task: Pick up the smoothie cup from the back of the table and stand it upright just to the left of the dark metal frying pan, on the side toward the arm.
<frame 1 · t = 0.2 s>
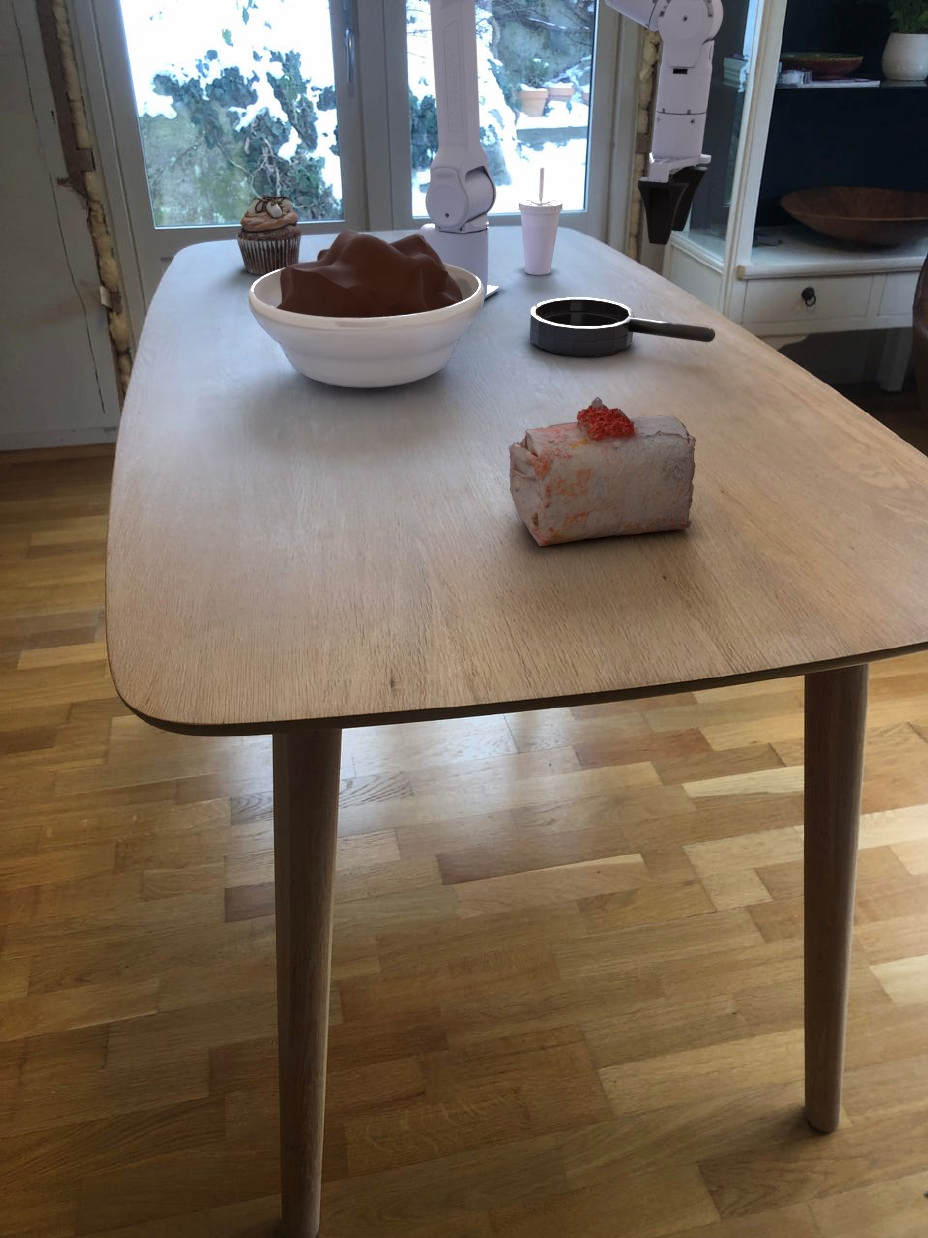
hand: (666, 236, 117), 10 cm above the table, tool pointing down, fingers open, 7 cm apart
smoothie: (537, 272, 142), on the table
cupcake: (272, 269, 144), on the table
bowl of chocolate mousse: (371, 373, 106), on the table
food item: (596, 526, 77), on the table
pan: (580, 341, 115), on the table
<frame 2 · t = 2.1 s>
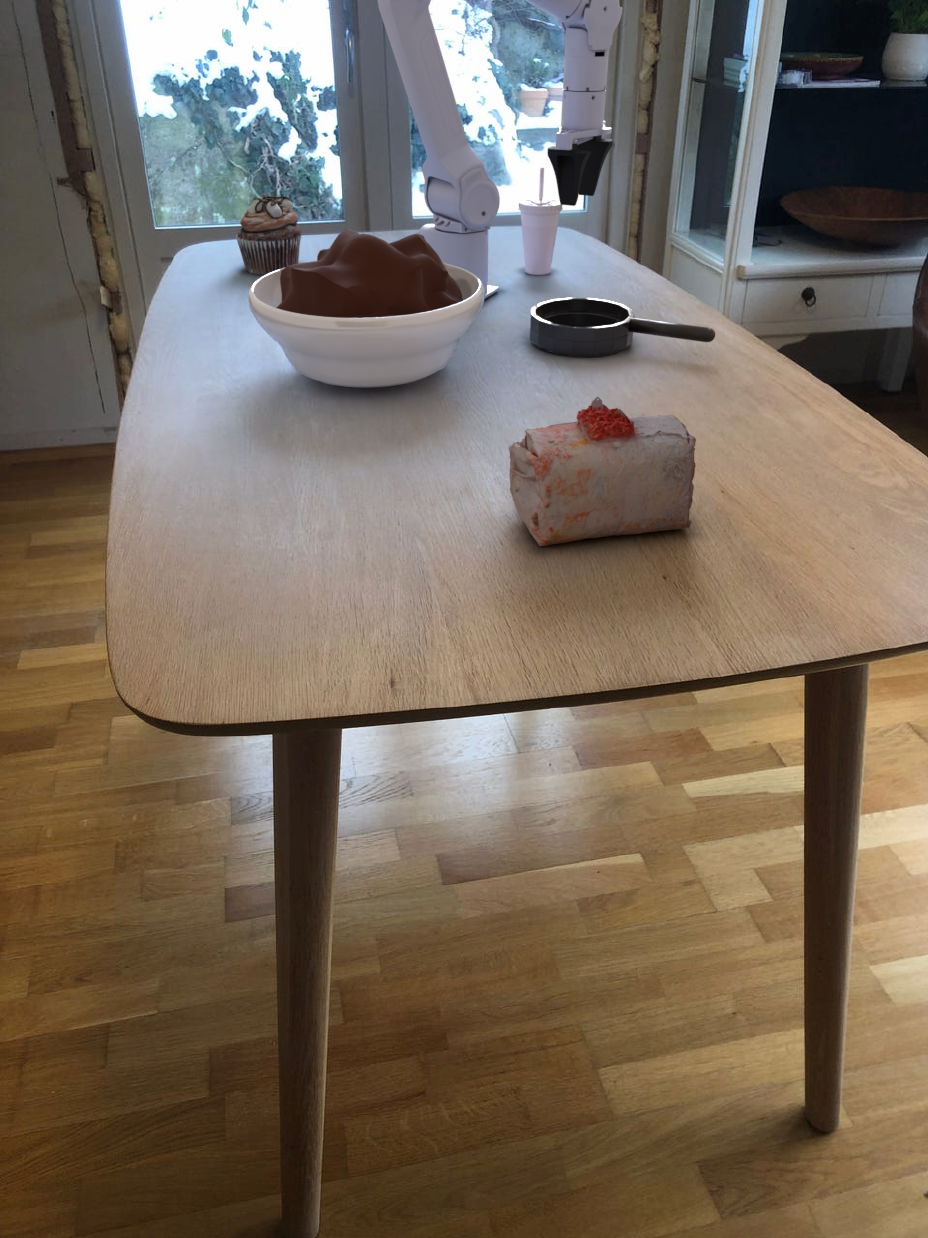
hand: (577, 199, 134), 10 cm above the table, tool pointing down, fingers open, 7 cm apart
nothing on the table moved.
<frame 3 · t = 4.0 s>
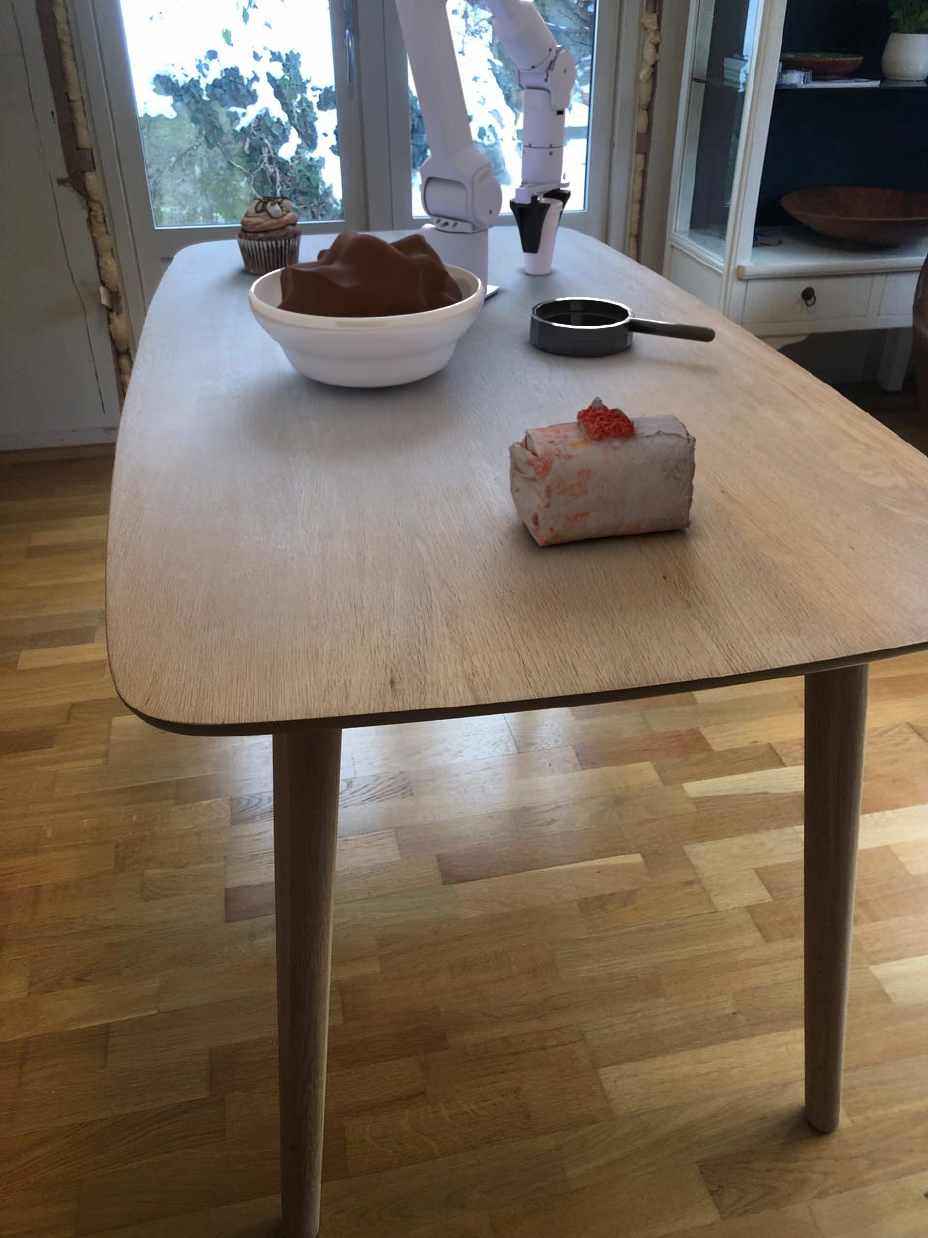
hand: (538, 247, 140), 3 cm above the table, tool pointing down, fingers closed on smoothie, 6 cm apart
smoothie: (537, 272, 142), on the table, touching gripper
everything else where it was.
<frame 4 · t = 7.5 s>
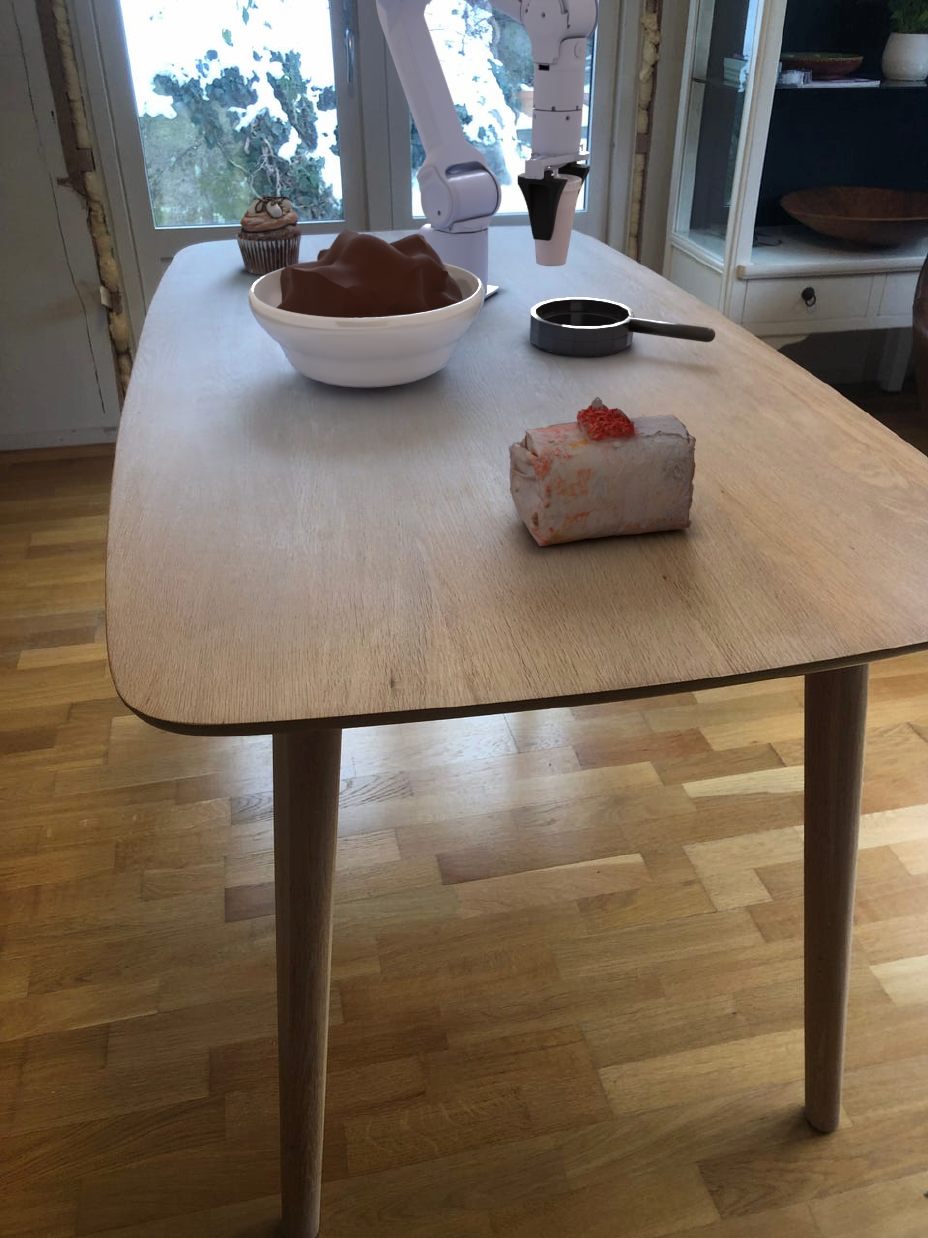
hand: (551, 233, 117), 10 cm above the table, tool pointing down, fingers closed on smoothie, 6 cm apart
smoothie: (550, 264, 119), point 7 cm above the table, touching gripper
everything else where it was.
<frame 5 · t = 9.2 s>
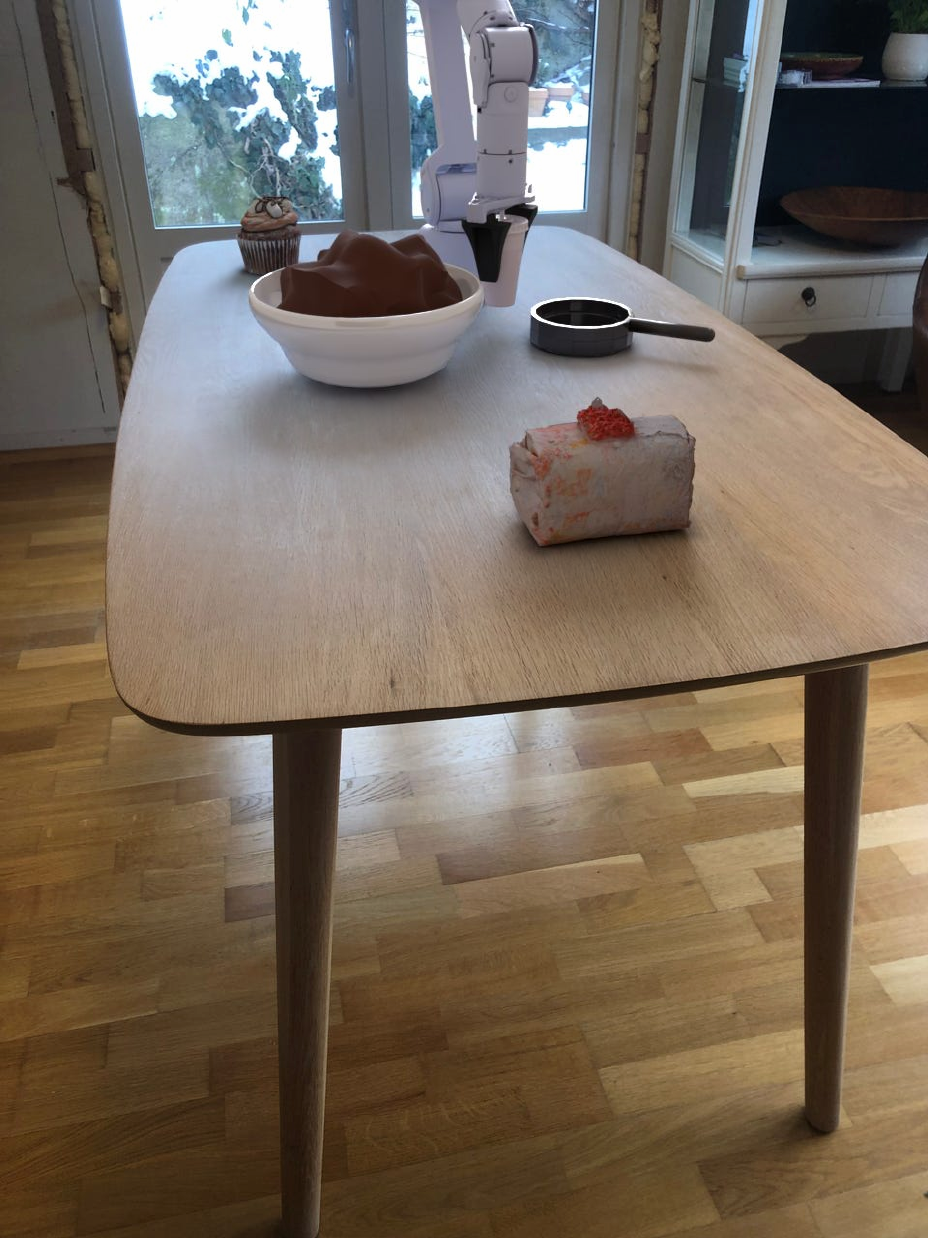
hand: (499, 274, 116), 7 cm above the table, tool pointing down, fingers closed on smoothie, 6 cm apart
smoothie: (499, 304, 118), point 3 cm above the table, touching gripper
everything else where it was.
when the fingers open (3 cm above the table, at t = 10.8 s): smoothie stays where it is, on the table.
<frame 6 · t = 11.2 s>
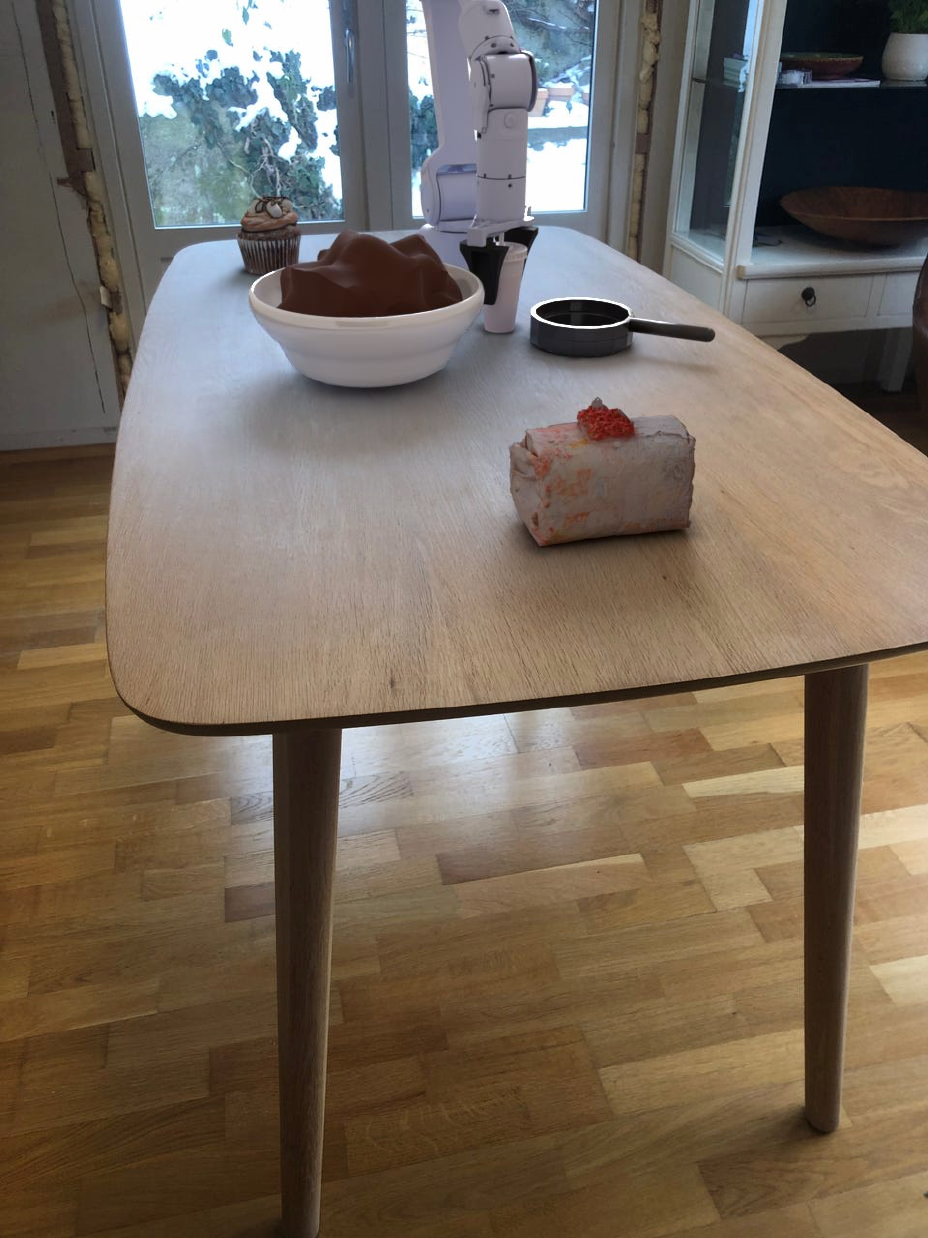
hand: (498, 295, 117), 4 cm above the table, tool pointing down, fingers open, 7 cm apart
smoothie: (499, 329, 119), on the table
everything else where it was.
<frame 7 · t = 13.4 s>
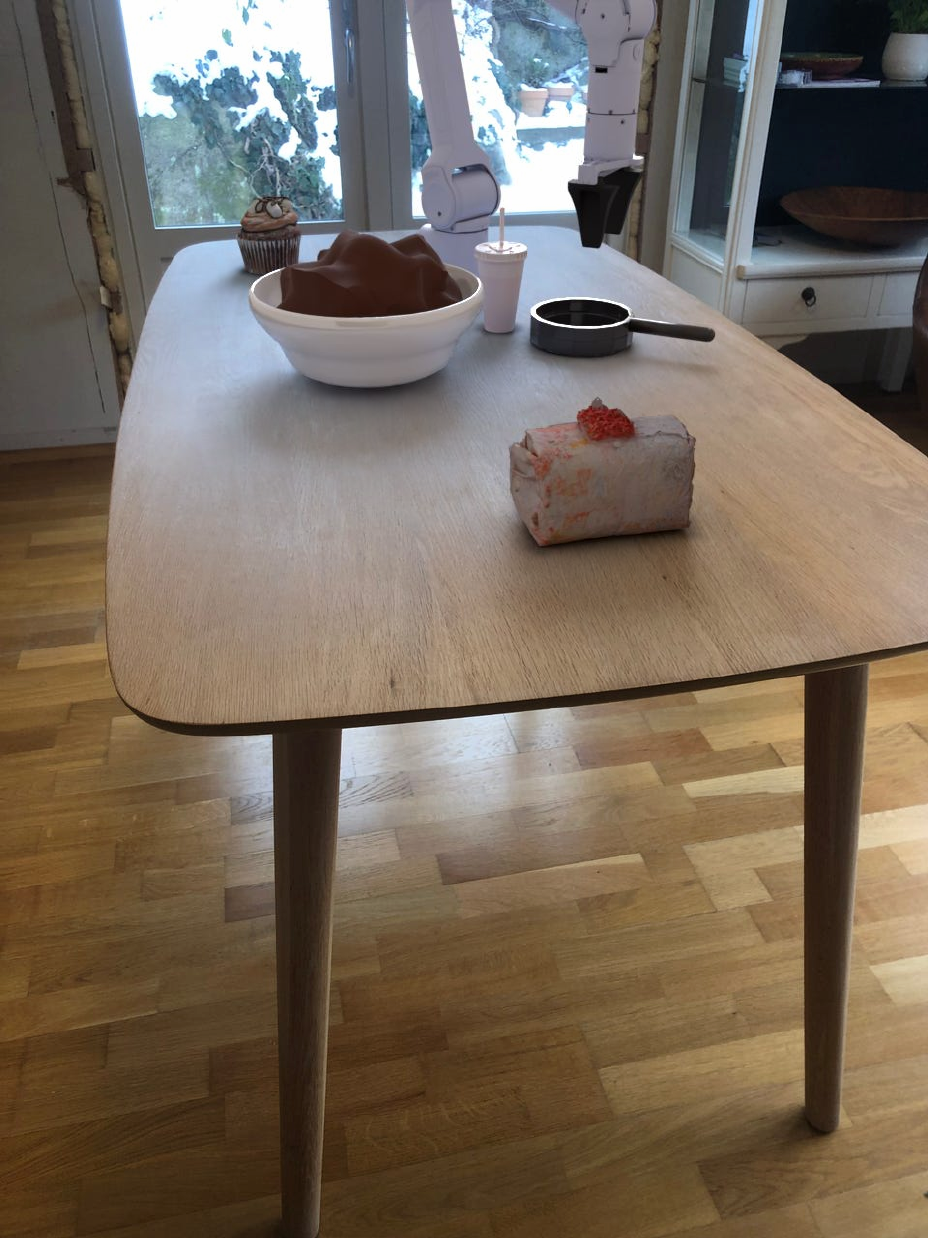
hand: (601, 240, 114), 10 cm above the table, tool pointing down, fingers open, 7 cm apart
nothing on the table moved.
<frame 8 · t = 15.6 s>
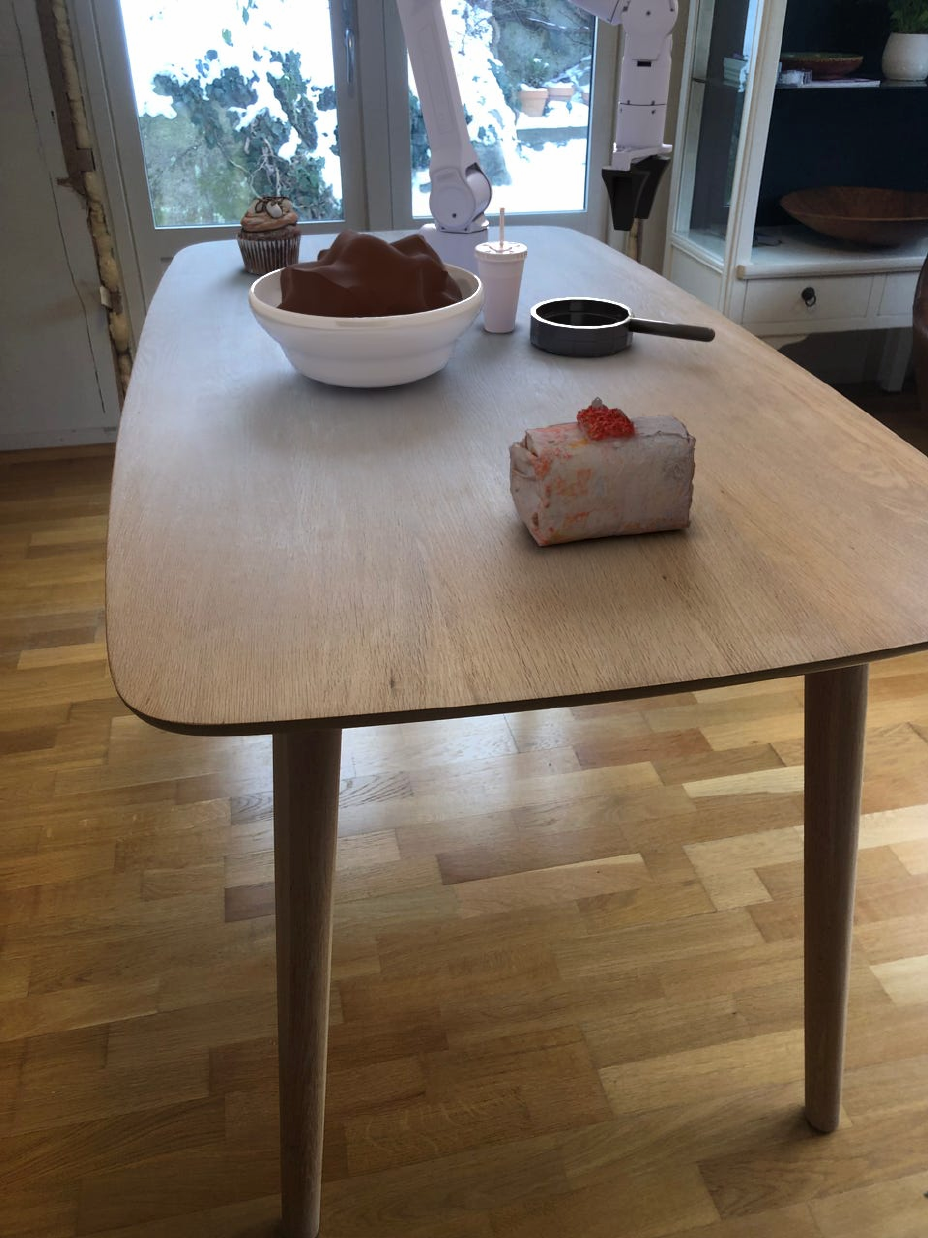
hand: (631, 223, 121), 10 cm above the table, tool pointing down, fingers open, 7 cm apart
nothing on the table moved.
at the end: smoothie inside the target area on the table beside the pan (0.5 cm from its centre), on the table; smoothie tilted 0°; the gripper is holding nothing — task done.
